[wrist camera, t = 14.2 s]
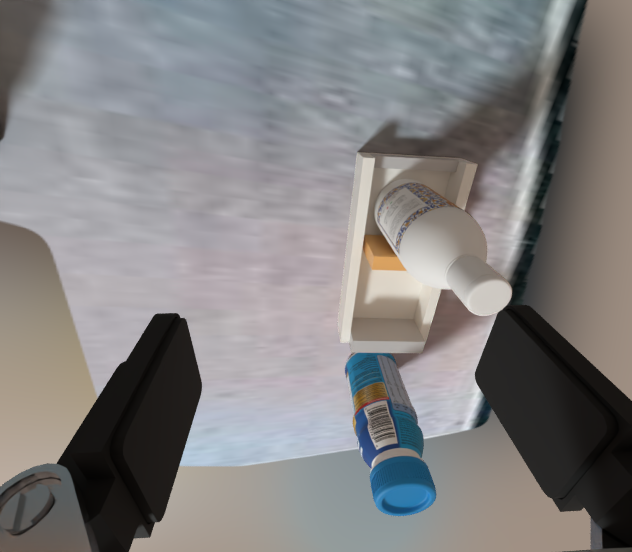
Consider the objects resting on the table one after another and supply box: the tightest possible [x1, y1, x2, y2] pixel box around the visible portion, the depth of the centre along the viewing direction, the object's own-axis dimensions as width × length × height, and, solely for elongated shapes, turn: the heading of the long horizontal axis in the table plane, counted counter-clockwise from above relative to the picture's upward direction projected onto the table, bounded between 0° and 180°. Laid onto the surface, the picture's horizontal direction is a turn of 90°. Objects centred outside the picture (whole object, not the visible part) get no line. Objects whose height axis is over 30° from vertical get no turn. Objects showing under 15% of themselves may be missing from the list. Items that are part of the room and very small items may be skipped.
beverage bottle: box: [345, 353, 436, 516], centre depth 42 cm, size 8×8×20 cm
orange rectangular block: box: [363, 235, 407, 271], centre depth 37 cm, size 2×9×6 cm, turn 87°
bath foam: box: [374, 179, 512, 316], centre depth 29 cm, size 7×7×20 cm
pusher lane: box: [337, 152, 478, 353], centre depth 39 cm, size 24×12×6 cm, turn 177°
